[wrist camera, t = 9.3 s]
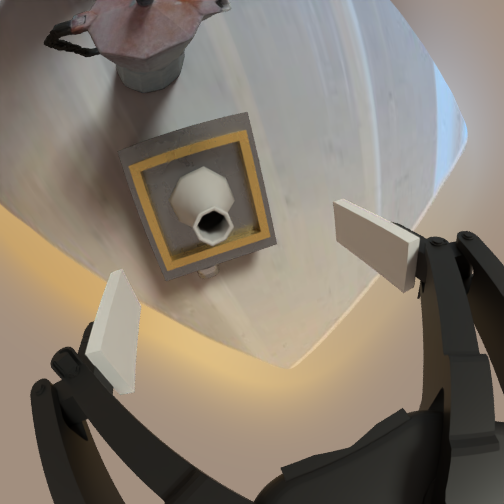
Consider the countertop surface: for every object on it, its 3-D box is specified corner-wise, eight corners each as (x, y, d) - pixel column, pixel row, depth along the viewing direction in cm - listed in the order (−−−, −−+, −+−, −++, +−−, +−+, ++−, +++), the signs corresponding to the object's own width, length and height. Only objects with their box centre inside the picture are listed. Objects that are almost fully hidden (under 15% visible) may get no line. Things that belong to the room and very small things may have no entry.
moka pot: (210, 85, 30) (250, 33, 13) (97, 112, 27) (20, 95, 10) (202, 25, 26) (233, -59, 8) (91, 51, 23) (28, -7, 6)
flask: (157, 199, 29) (149, 228, 20) (204, 154, 28) (217, 163, 20) (200, 240, 32) (211, 282, 24) (245, 199, 32) (273, 226, 23)
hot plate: (127, 148, 31) (114, 152, 24) (236, 115, 33) (250, 110, 26) (172, 274, 40) (173, 302, 33) (266, 243, 42) (284, 264, 35)
